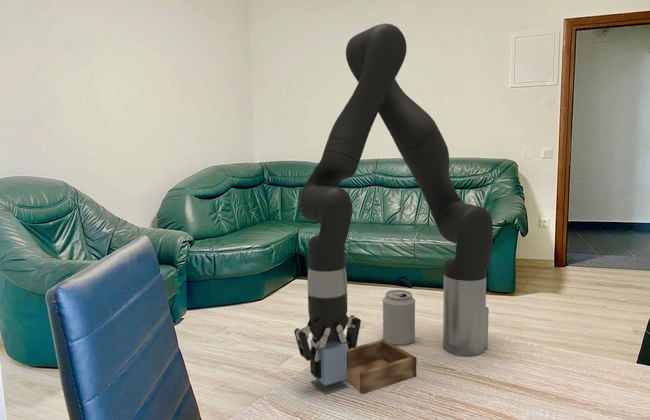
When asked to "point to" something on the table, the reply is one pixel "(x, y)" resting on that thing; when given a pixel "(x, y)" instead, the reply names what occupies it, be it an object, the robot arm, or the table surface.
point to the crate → (378, 366)
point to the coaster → (329, 386)
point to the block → (333, 362)
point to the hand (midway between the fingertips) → (329, 373)
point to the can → (399, 317)
